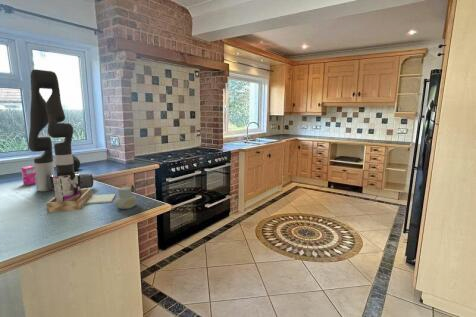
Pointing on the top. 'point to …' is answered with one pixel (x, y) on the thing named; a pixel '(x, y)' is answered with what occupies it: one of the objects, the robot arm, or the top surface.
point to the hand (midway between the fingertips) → (68, 194)
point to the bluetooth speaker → (86, 182)
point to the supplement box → (28, 175)
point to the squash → (76, 162)
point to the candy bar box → (65, 189)
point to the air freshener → (125, 198)
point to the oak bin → (69, 202)
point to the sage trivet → (101, 198)
